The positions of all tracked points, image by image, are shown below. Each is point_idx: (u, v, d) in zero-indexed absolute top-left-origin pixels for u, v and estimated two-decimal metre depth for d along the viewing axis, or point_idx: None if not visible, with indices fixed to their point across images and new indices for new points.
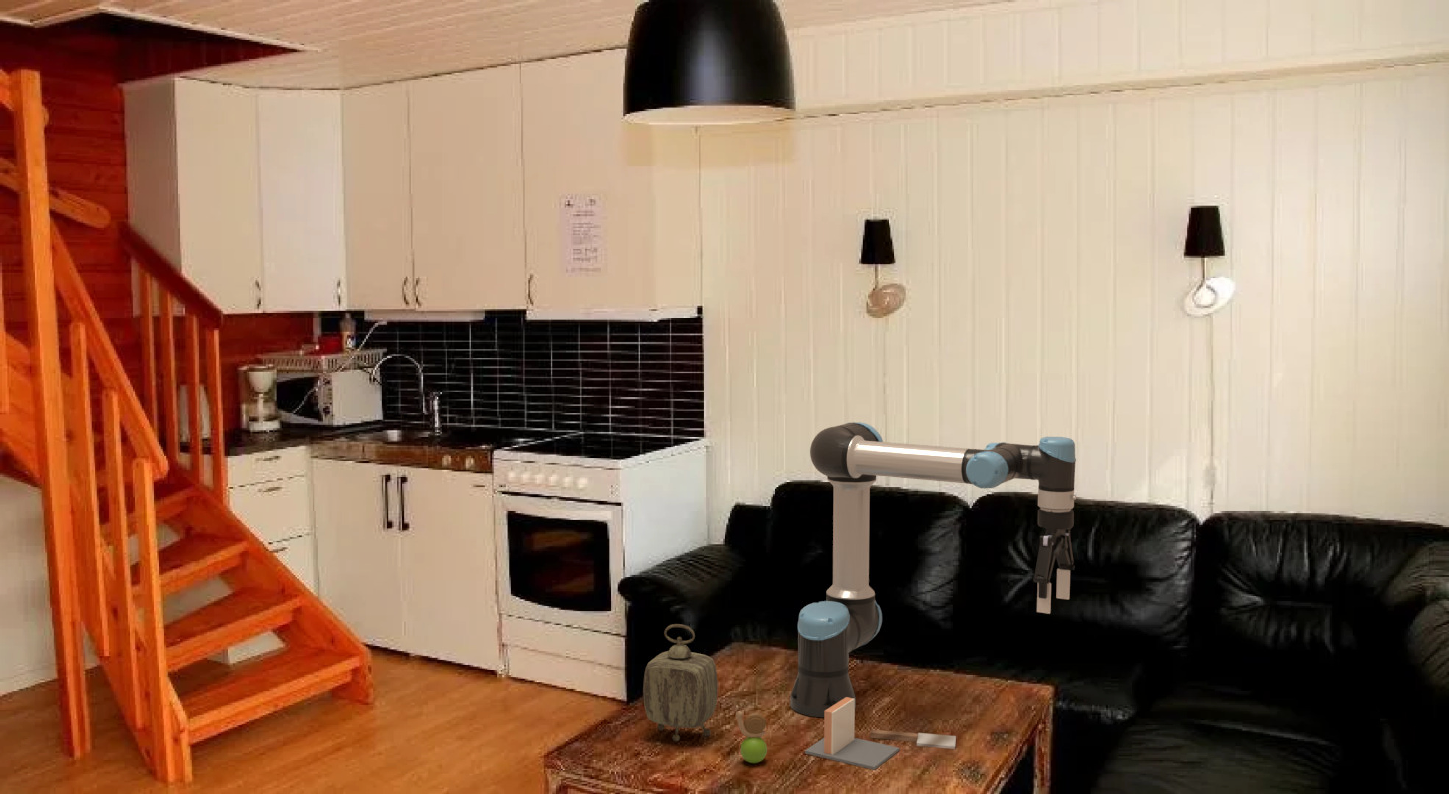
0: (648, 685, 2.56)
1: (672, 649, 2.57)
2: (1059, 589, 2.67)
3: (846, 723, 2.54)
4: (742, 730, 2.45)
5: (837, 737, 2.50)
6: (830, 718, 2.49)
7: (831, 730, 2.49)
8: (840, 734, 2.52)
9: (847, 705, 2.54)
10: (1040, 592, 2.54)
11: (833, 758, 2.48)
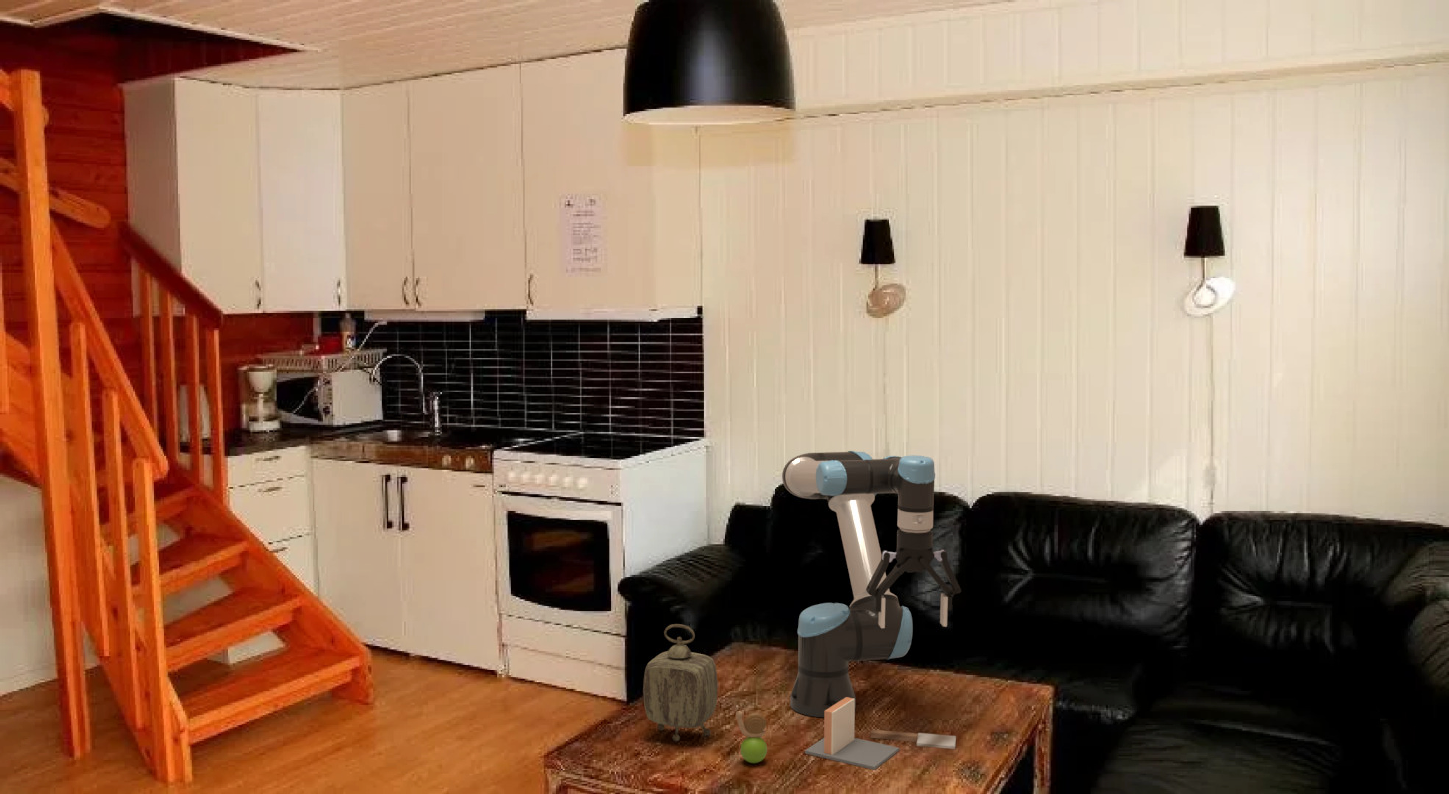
0: (648, 685, 2.56)
1: (672, 649, 2.57)
2: (941, 614, 2.60)
3: (846, 723, 2.54)
4: (742, 730, 2.45)
5: (837, 737, 2.50)
6: (830, 718, 2.49)
7: (831, 730, 2.49)
8: (840, 734, 2.52)
9: (847, 705, 2.54)
10: (874, 605, 2.58)
11: (833, 758, 2.48)
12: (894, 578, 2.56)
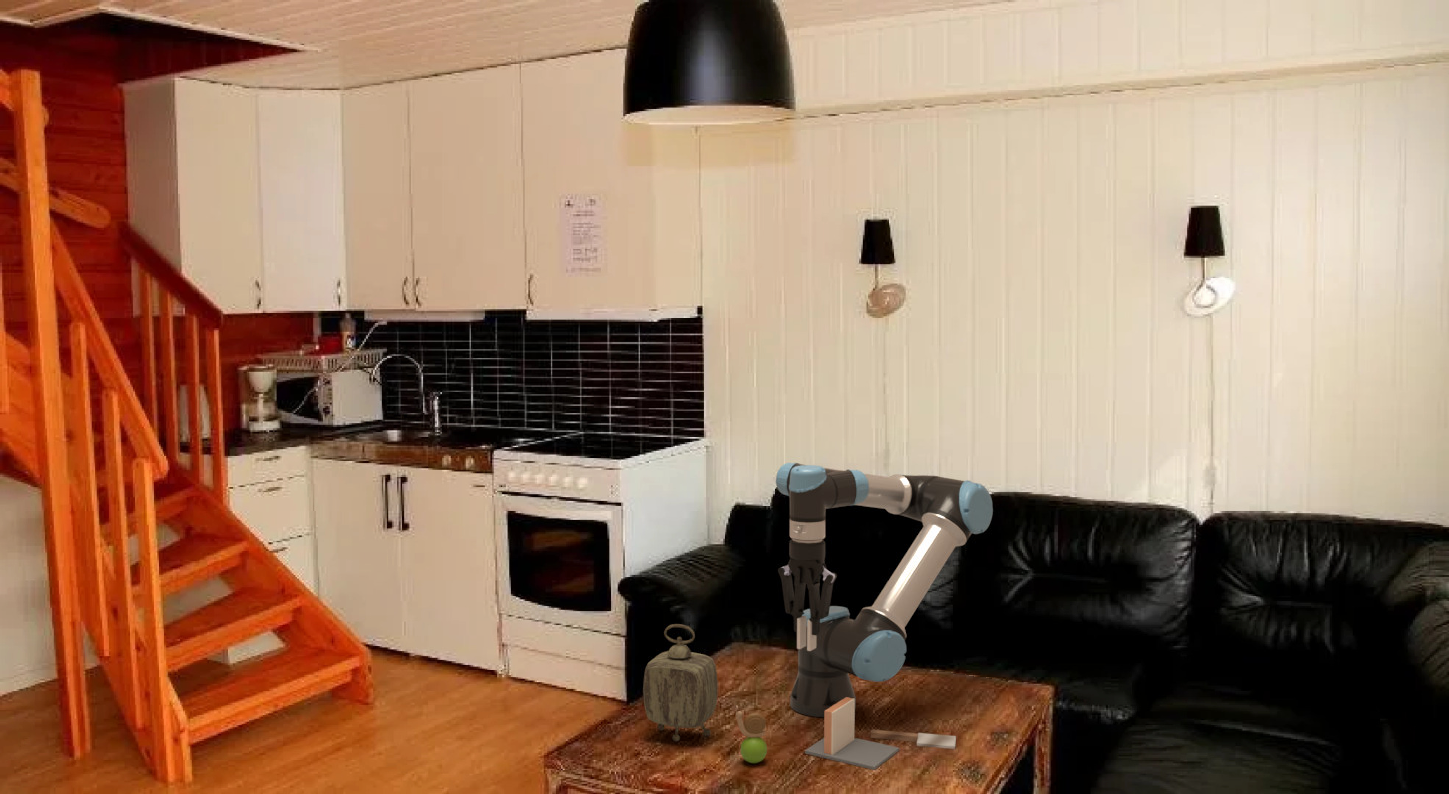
0: (648, 685, 2.56)
1: (672, 649, 2.57)
2: None
3: (846, 723, 2.54)
4: (742, 730, 2.45)
5: (837, 737, 2.50)
6: (830, 718, 2.49)
7: (831, 730, 2.49)
8: (840, 734, 2.52)
9: (847, 705, 2.54)
10: None
11: (833, 758, 2.48)
12: (797, 593, 2.55)
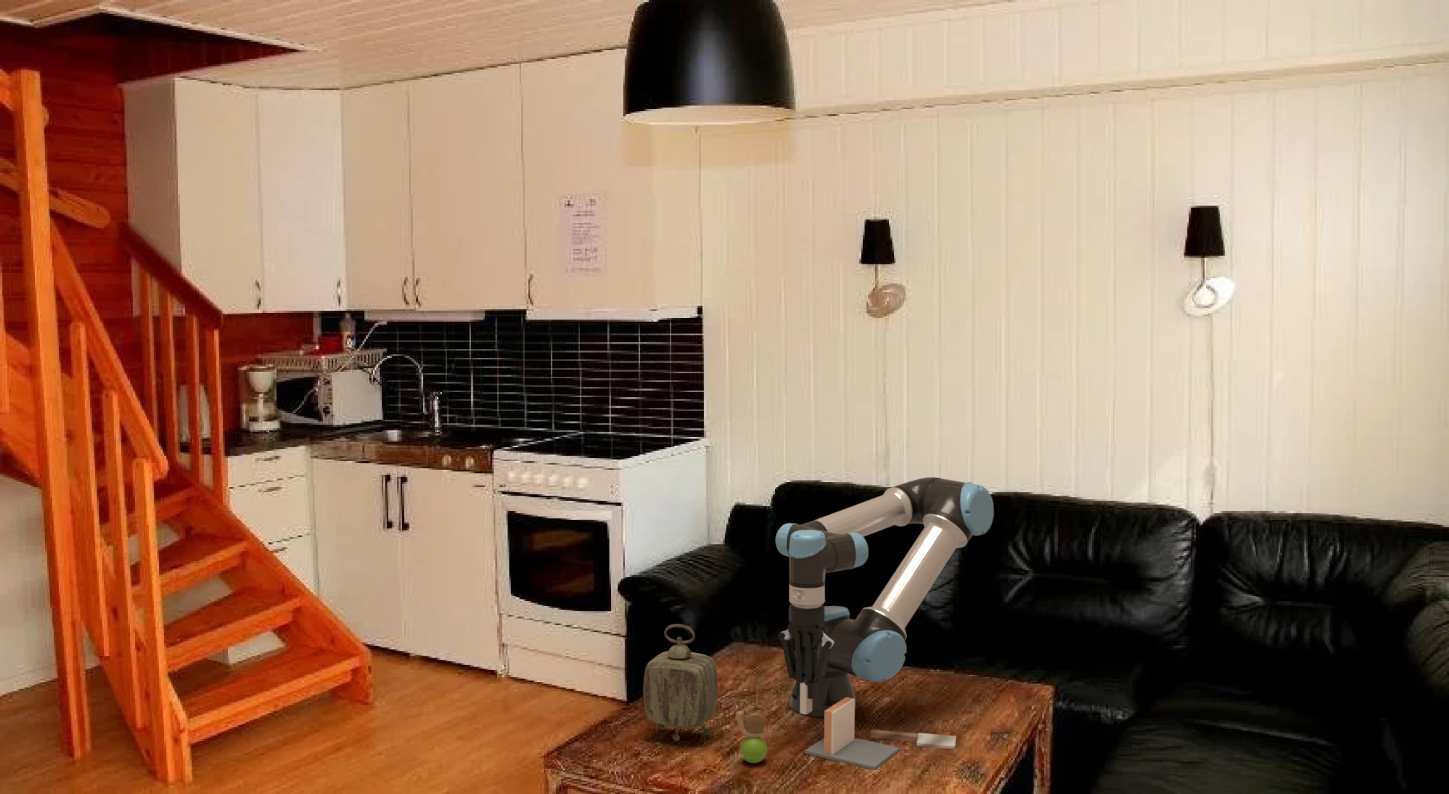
0: (648, 685, 2.56)
1: (672, 649, 2.57)
2: None
3: (846, 723, 2.54)
4: (742, 730, 2.45)
5: (837, 737, 2.50)
6: (830, 718, 2.49)
7: (831, 730, 2.49)
8: (840, 734, 2.52)
9: (847, 705, 2.54)
10: None
11: (833, 758, 2.48)
12: (798, 657, 2.56)
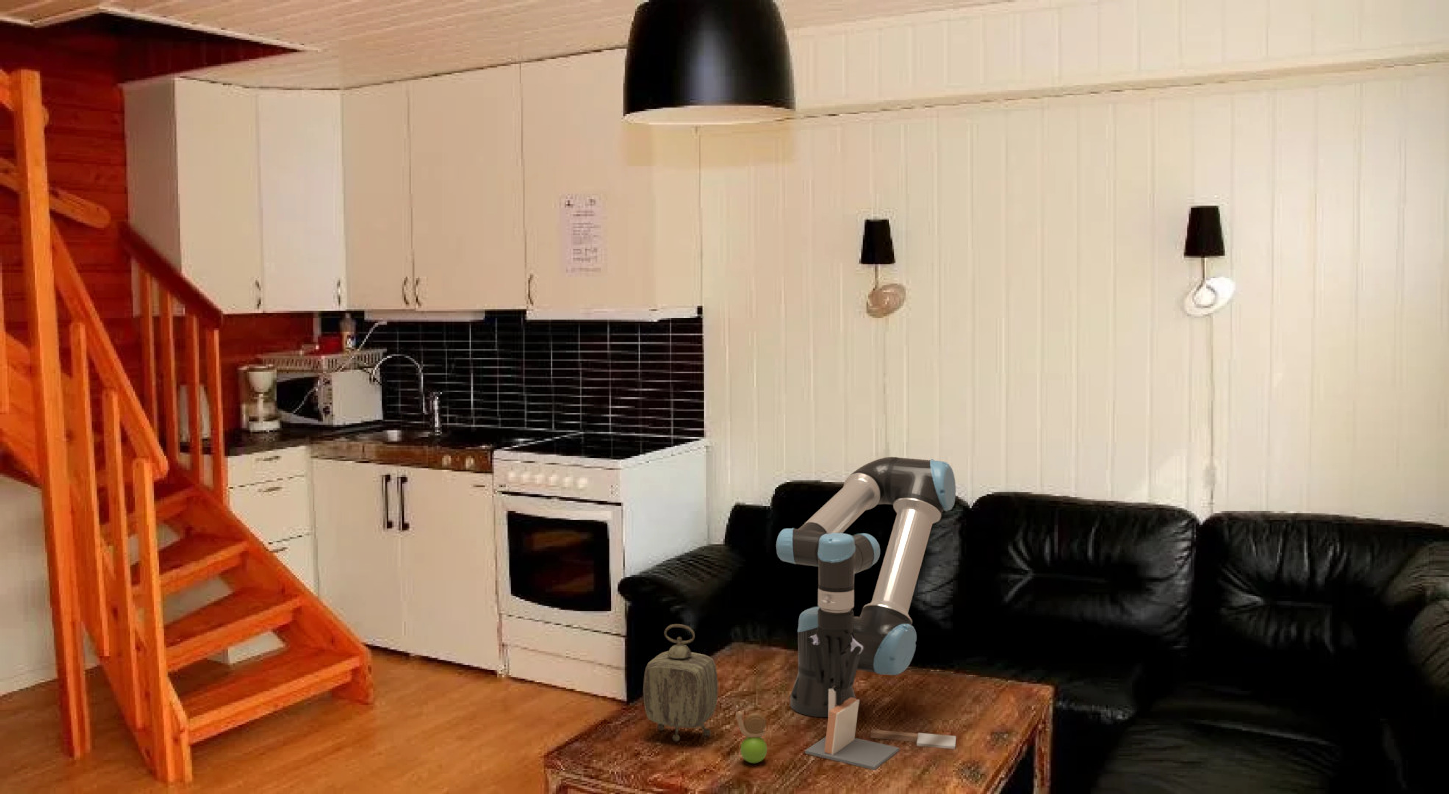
0: (648, 685, 2.56)
1: (672, 649, 2.57)
2: None
3: (848, 723, 2.53)
4: (742, 730, 2.45)
5: (839, 737, 2.50)
6: (834, 718, 2.48)
7: (834, 731, 2.48)
8: (842, 734, 2.51)
9: (851, 706, 2.53)
10: None
11: (833, 758, 2.48)
12: (827, 663, 2.52)
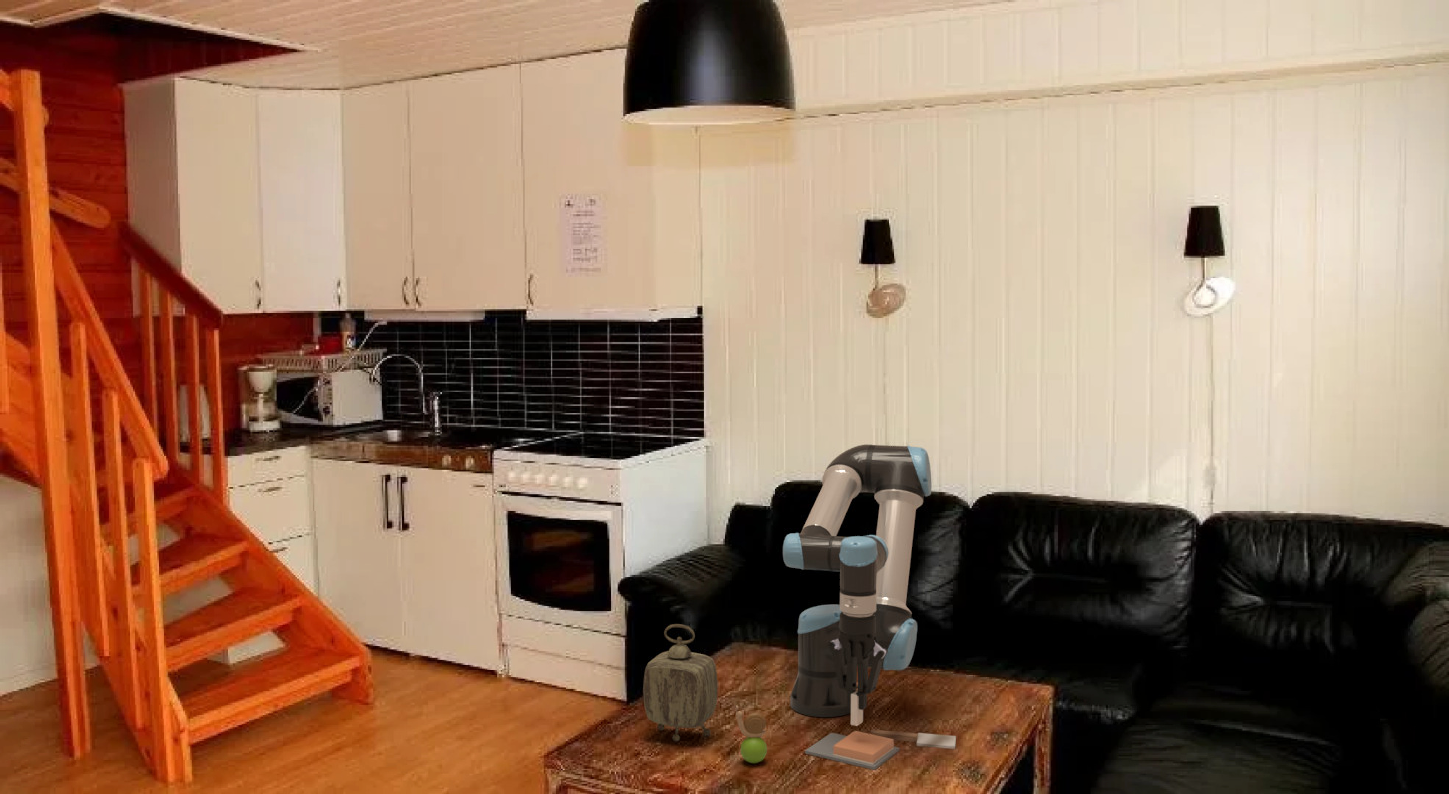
0: (648, 685, 2.56)
1: (672, 649, 2.57)
2: None
3: None
4: (742, 730, 2.45)
5: None
6: (867, 760, 2.45)
7: (855, 759, 2.46)
8: None
9: None
10: None
11: (833, 758, 2.48)
12: (849, 667, 2.50)
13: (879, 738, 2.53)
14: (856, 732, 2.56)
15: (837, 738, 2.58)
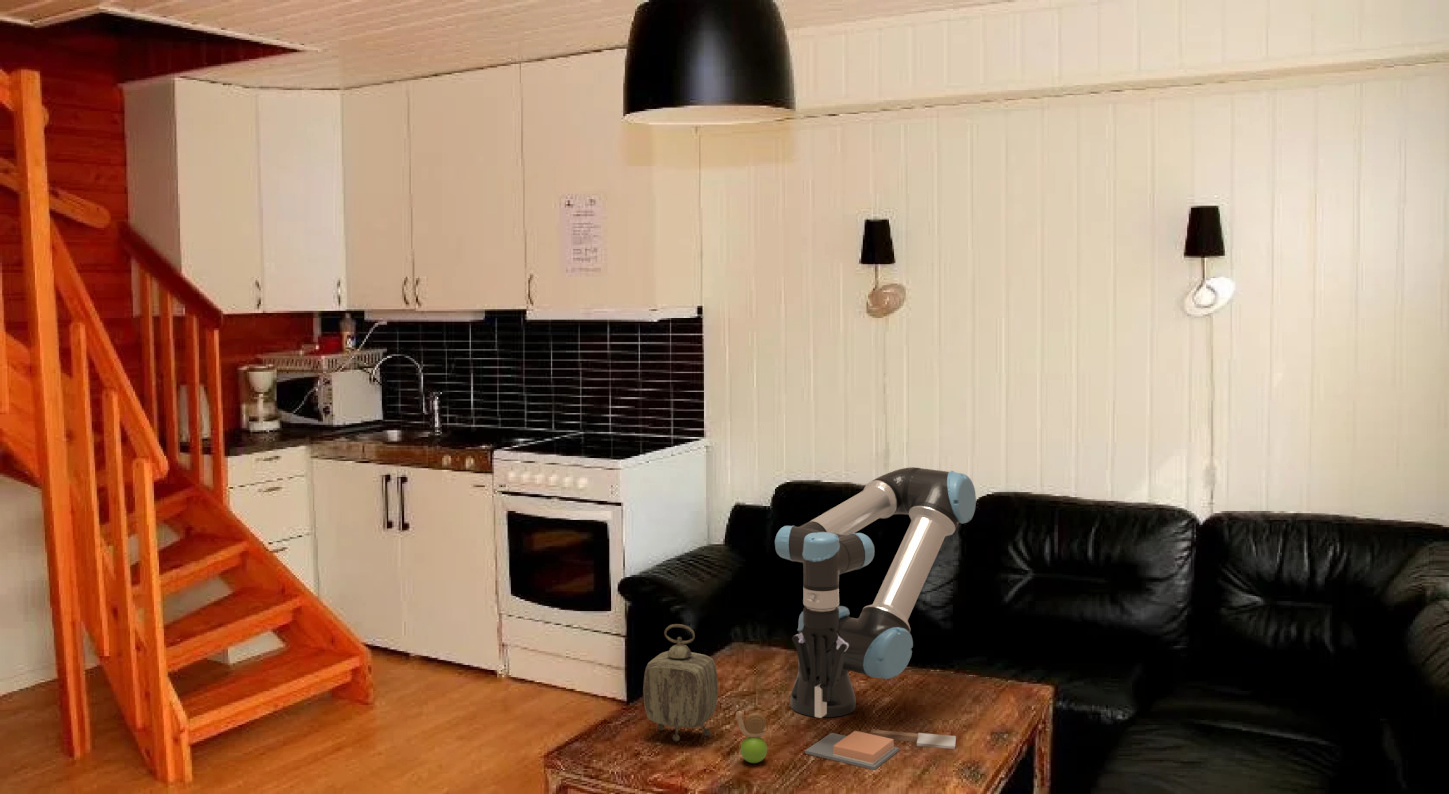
0: (648, 685, 2.56)
1: (672, 649, 2.57)
2: None
3: None
4: (742, 730, 2.45)
5: None
6: (867, 760, 2.45)
7: (855, 759, 2.46)
8: None
9: None
10: None
11: (833, 758, 2.48)
12: (813, 660, 2.54)
13: (879, 738, 2.53)
14: (856, 732, 2.56)
15: (837, 738, 2.58)
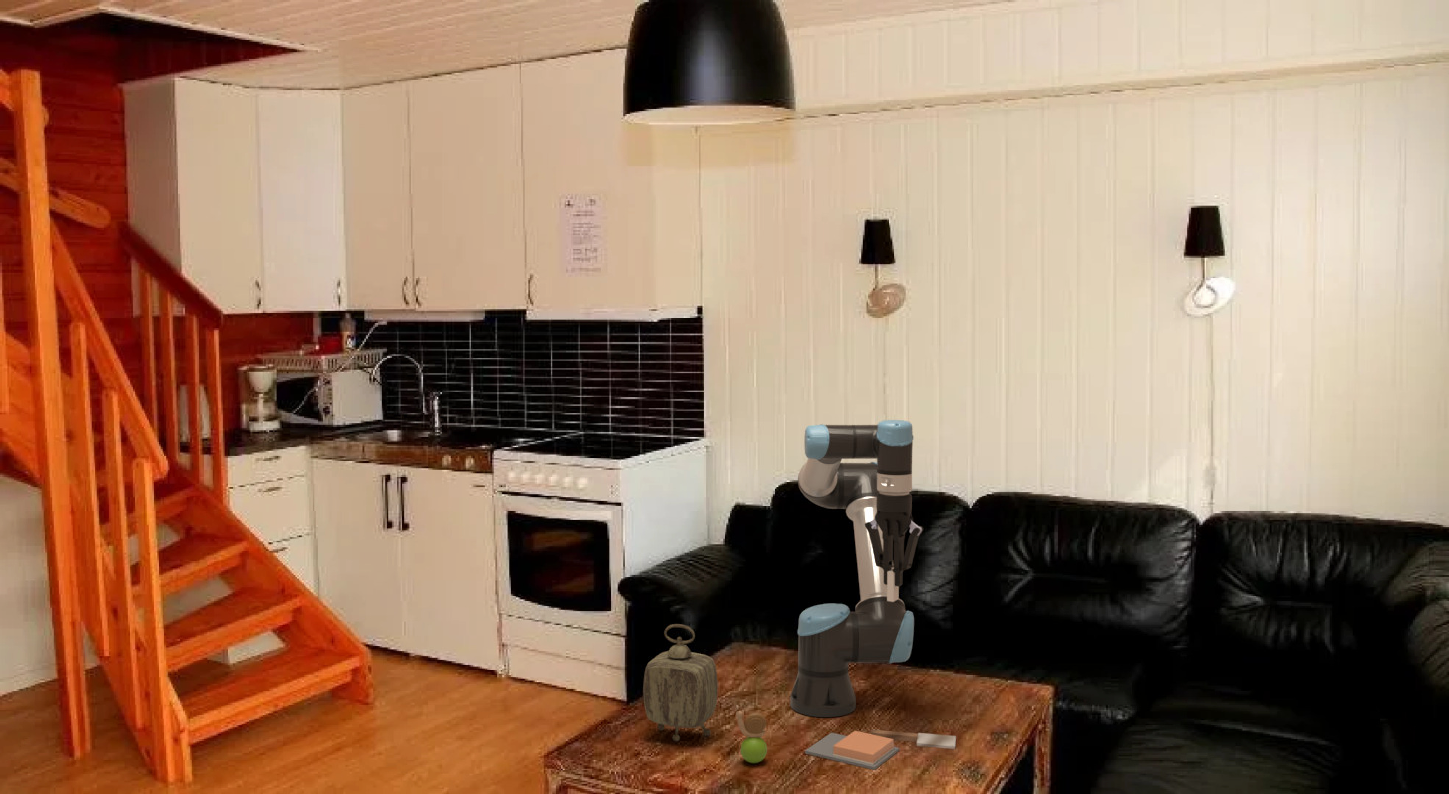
0: (648, 685, 2.56)
1: (672, 649, 2.57)
2: None
3: None
4: (742, 730, 2.45)
5: None
6: (867, 760, 2.45)
7: (855, 759, 2.46)
8: None
9: None
10: None
11: (833, 758, 2.48)
12: (886, 545, 2.59)
13: (879, 738, 2.53)
14: (856, 732, 2.56)
15: (837, 738, 2.58)
